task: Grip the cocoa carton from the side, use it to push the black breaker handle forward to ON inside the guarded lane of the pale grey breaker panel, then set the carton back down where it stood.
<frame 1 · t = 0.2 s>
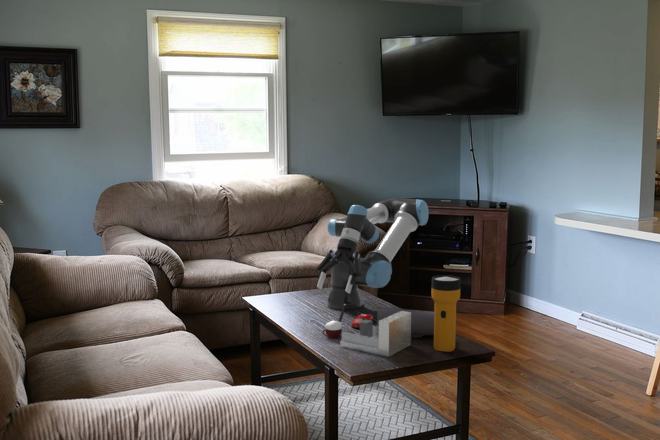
hand: (333, 290, 268), 15 cm above the table, tool tilted 35°, fingers open, 13 cm apart
cocoa: (334, 337, 256), on the table
breaker panel: (375, 345, 246), on the table
bluetooth speaker: (407, 336, 258), on the table
race car: (362, 325, 273), on the table
flashlight: (444, 349, 243), on the table
breaker handle: (366, 329, 248), point 5 cm above the table, slide at 0.0 cm
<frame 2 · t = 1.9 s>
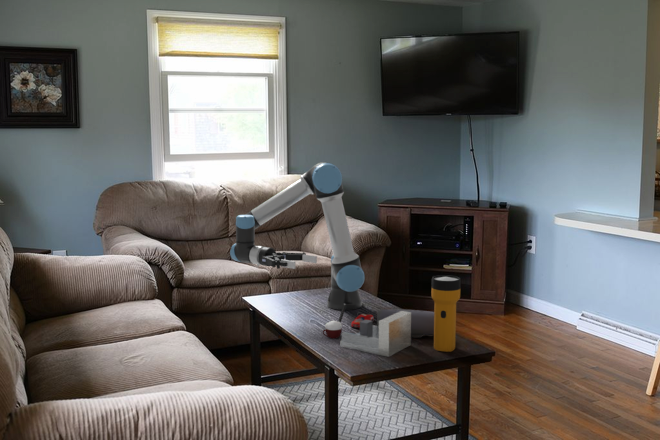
hand: (305, 262, 262), 27 cm above the table, tool horizontal, fingers open, 13 cm apart
nothing on the table moved.
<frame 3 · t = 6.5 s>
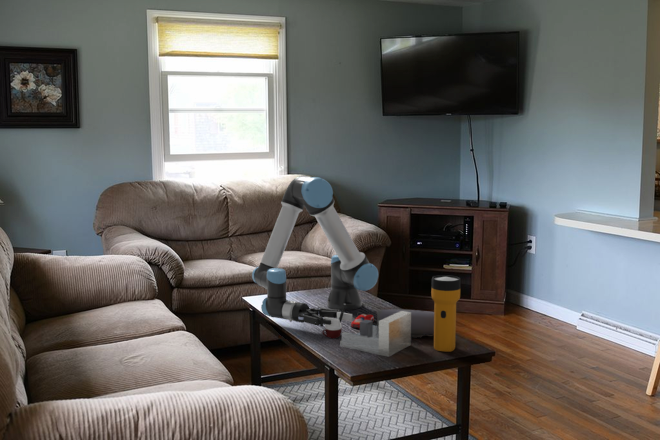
hand: (345, 320, 253), 7 cm above the table, tool horizontal, fingers open, 8 cm apart
cocoa: (334, 337, 256), on the table, touching gripper
everything else where it was.
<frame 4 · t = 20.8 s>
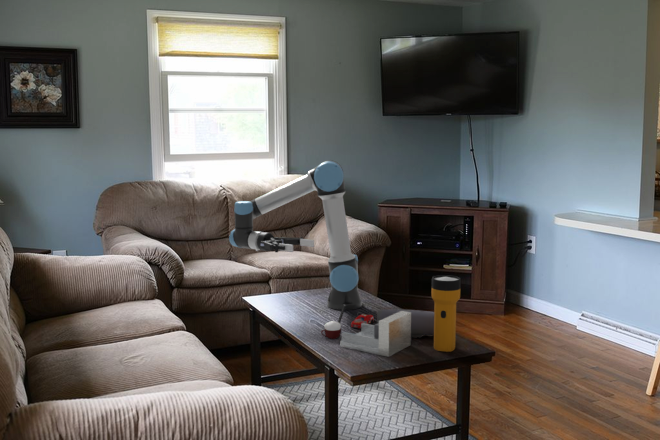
hand: (303, 246, 267), 32 cm above the table, tool horizontal, fingers open, 13 cm apart
cocoa: (333, 338, 256), on the table
breaker handle: (380, 332, 244), point 5 cm above the table, slide at 6.1 cm
everything else where it was.
at the end: breaker handle slide at 6.1 cm; cocoa inside the target area (0.6 cm from its centre), on the table; cocoa tilted 0° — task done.
